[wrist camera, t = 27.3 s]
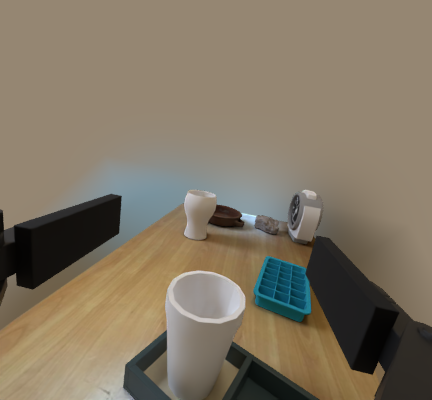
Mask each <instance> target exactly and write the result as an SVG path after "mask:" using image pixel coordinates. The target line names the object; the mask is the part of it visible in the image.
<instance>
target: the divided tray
mask: <svg viewBox="0 0 432 400" xmlns="http://www.w3.org/2000/svg"><path fill="white" fill-rule="evenodd" d="M123 387H124V388H125V389H126V390H127V392H128V393H129V394H130V395H131V396H132V397H133V398H134V399H135V400H181V399H179V398H177V397H176V396H175V395H174V394H173V392H172V391H171V389H170V388H169V385H168V373H167V330H166V331H165V332H164V333H163V334H161V335H160V336H159V337H158V338H157V339H155V340H154V341H153V342H152V343H151V344H150V345H148V346H147V347H146V348H145V349H144V350H142V351H141V352H140V353H139V354H138V355H136V356H135V357H134V358H133V359H132V360H131V361H129V362H128V363H127V364H126V365H125V375H124V385H123ZM202 400H319V399H318V398H316V397H315V396H313V395H312V394H310V393H309V392H307V391H306V390H304V389H303V388H301V387H300V386H298V385H297V384H295V383H294V382H292V381H291V380H289V379H288V378H286V377H285V376H283V375H282V374H280V373H279V372H277V371H276V370H274V369H273V368H271V367H270V366H268V365H267V364H265V363H264V362H262V361H261V360H259V359H258V358H256V357H254V355H252V354H251V353H249V352H248V351H246V350H245V349H243V348H242V347H240V346H239V345H237V344H236V343H234V342H233V341H232V344H231V346H230V348H229V351H228V353H227V356H226V358H225V360H224V363H223V365H222V368H221V370H220V373H219V375H218V377H217V380H216V382H215V385H214V386H213V389H212V390H211V392H210V393H209V395H208V396H207V397H206V398H204V399H202Z"/></svg>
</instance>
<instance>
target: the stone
mask: <svg viewBox="0 0 432 400" xmlns="http://www.w3.org/2000/svg"><path fill="white" fill-rule="evenodd" d="M278 224H279V221H277V220H274V219H272V218H271V217H270V218H269V217H266V216H263V215H262V216H259V215H258V216H257V217H256V220H255V228H258V229H261V230H263V231H264V232H267V233H271V234H276V233H277V231H278V229H279V228H278Z"/></svg>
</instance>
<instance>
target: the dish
mask: <svg viewBox="0 0 432 400" xmlns="http://www.w3.org/2000/svg"><path fill="white" fill-rule="evenodd" d="M241 217H242V214H241V213H240V212H239V211H237V210H235V209H233V208H230V207H227V206H222V205H216V209H215V211H214V213H213V215H212V217H211V218H210V219H209V221H208V222H210V223H213V224H216V225H220V226H233V225H235V226H239V227H243V225H244V222H243V221H242V220H241V219H240V218H241Z"/></svg>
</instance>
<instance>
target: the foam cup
mask: <svg viewBox="0 0 432 400" xmlns="http://www.w3.org/2000/svg"><path fill="white" fill-rule="evenodd" d="M165 308H166V316H167V373H168V385H169V388H170V389H171V391H172V392H173V394H174V395H175V396H176V397H177V398H179V399H181V400H202V399H204V398H206V397H207V396H208V395H209V393H210V392H211V390H212V389H213V386H214V385H215V382H216V380H217V377H218V375H219V373H220V370H221V368H222V365H223V363H224V360H225V358H226V356H227V353H228V351H229V348H230V346H231V344H232V341H233V339H234V336H235V334H236V331H237V330H238V328H239V327H240V326H241V323H242V319H243V315H244V311H245V295H244V294H243V292H242V291H241V289H240V287H239V286H238V285H237V284H235V283H234V282H233V281H231V280H230V279H229V278H227V277H225V276H222V275H219V274H217V273H214V272H207V271H192V272H186V273H183V274H181V275H180V276H178V277H176V278H174V279H173V280H172V282H171V284H170V286H169V287H168V289H167V296H166V303H165Z"/></svg>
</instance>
